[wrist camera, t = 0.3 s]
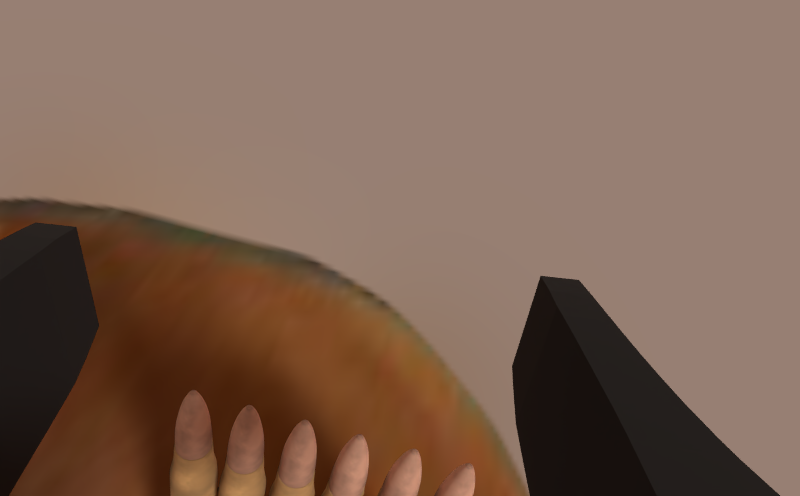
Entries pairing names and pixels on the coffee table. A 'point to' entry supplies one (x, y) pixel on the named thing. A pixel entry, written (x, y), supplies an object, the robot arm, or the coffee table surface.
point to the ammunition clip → (284, 462)
